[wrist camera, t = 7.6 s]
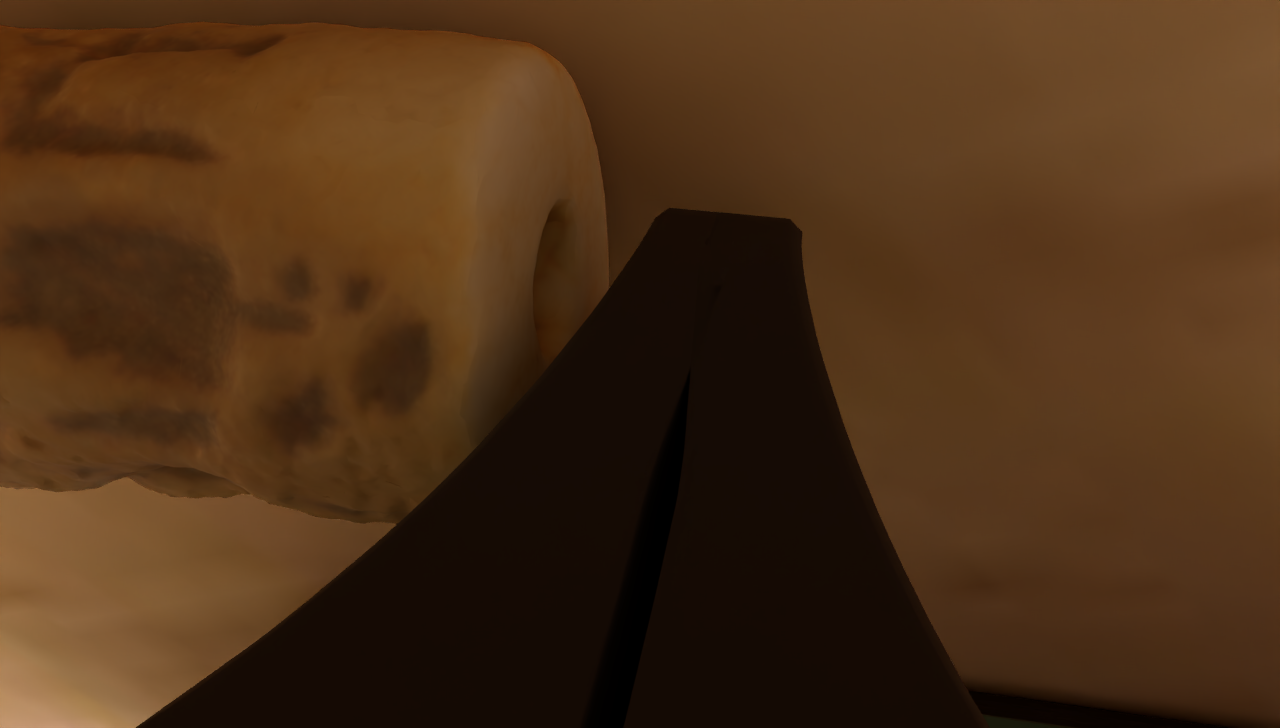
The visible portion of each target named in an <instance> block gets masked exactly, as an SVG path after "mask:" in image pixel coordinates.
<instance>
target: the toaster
mask: <svg viewBox="0 0 1280 728" xmlns="http://www.w3.org/2000/svg"><path fill="white" fill-rule="evenodd" d="M968 692H969V694H970V696H971V697H972V699H973V701H974V702H975V704H976V705H977V707H978V709H979V710H980V712H981V714H982V715H983V717H984V719H985V720H986V722H987V723H988V725H989V727H990V728H1227V727H1219V726H1212V725H1205V724H1198V723H1191V722H1184V721H1177V720H1170V719H1163V718H1156V717H1149V716H1142V715H1135V714H1128V713H1121V712H1114V711H1107V710H1099V709H1092V708H1085V707H1078V706H1071V705H1064V704H1057V703H1050V702H1043V701H1036V700H1029V699H1022V698H1015V697H1008V696H1001V695H994V694H987V693H979V692H972V691H968Z"/></svg>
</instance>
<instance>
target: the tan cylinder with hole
mask: <svg viewBox="0 0 1280 728" xmlns="http://www.w3.org/2000/svg"><path fill="white" fill-rule="evenodd" d="M608 290H609V253H608V234H607V221H606V205H605V194H604V188H603V180H602V174H601V167H600V162H599V157H598V150H597V146H596V143H595V140H594V136H593V133H592V128H591V124H590V120H589V117H588V115H587V112H586V109H585V106H584V103H583V100H582V98H581V96H580V94H579V91H578V88H577V86H576V84H575V82H574V80H573V79H572V77H571V76H570V74H569V73H568V71H567V70H566V69H565V67H564V66H563V65H562V64H561V63H560V62H559V61H558V60H557V59H555V58H554V57H553V56H552V55H550V54H549V53H547V52H545V51H544V50H542V49H540V48H538V47H536V46H534V45H532V44H530V43H528V42H525V41H521V42H519V41H512V40H501V39H497V38H490V37H483V36H476V35H472V34H468V33H457V32H450V31H437V30H428V31H420V30H397V29H391V28H360V27H353V26H348V25H342V24H327V23H301V24H268V25H261V26H252V25H238V24H229V23H212V22H196V23H176V24H170V25H165V26H159V27H154V28H128V29H115V28H103V29H88V30H59V29H51V28H30V29H25V28H17V27H9V26H4V25H0V487H6V488H15V489H35V488H38V489H42V490H47V491H53V492H64V491H79V490H85V489H95V488H99V487H102V486H104V485H106V484H108V483H110V482H112V481H115V480H118V479H120V478H123V477H129V478H131V479H132V480H134V481H135V482H137V483H138V484H140V485H142V486H143V487H145V488H147V489H149V490H152V491H155V492H157V493H160V494H166V495H168V496H171V497H187V498H202V497H222V498H228V497H231V496H235V495H239V494H245V495H253V496H254V497H256V498H258V499H261V500H264V501H266V502H267V503H269V504H273V505H277V506H281V507H285V508H289V509H294V510H299V511H302V512H305V513H307V514H309V515H312V516H315V517H321V518H327V519H340V520H346V521H351V522H354V523H370V522H386V523H397V524H398V523H399V522H400V521H401V520H402V519H403V518H404V517H406V516H407V515H408V514H409V513H410V512H411V511H412V510H413V509H414V508H415V507H416V506H417V505H419V504H420V503H421V502H422V501H423V500H424V499H425V498H426V497H427V496H428V495H429V494H430V493H431V492H432V491H433V490H434V489H435V488H436V487H437V486H438V485H439V484H441V483H442V482H443V481H444V480H445V479H446V478H447V477H448V476H449V475H450V474H451V473H452V472H453V471H454V470H455V469H456V468H457V467H458V466H459V465H460V464H461V463H462V462H463V461H464V460H465V459H466V458H467V456H468V455H469V454H470V453H471V452H472V451H473V450H474V449H475V448H476V447H477V446H478V445H479V444H480V443H481V442H482V441H483V440H484V438H485V437H486V436H487V435H488V434H489V433H490V432H491V431H492V430H493V429H494V427H495V426H496V425H497V424H498V423H499V422H500V421H501V420H502V419H503V418H504V416H505V415H506V414H507V413H508V412H509V411H510V410H511V409H512V408H513V407H514V405H515V404H516V403H517V402H518V401H519V400H520V399H521V398H522V397H523V396H524V394H525V393H526V392H527V391H528V390H529V389H530V388H531V387H532V386H533V384H534V383H535V382H536V381H537V380H538V379H539V377H540V376H541V375H542V374H543V373H544V372H545V370H546V369H547V368H548V367H549V365H550V364H551V363H552V362H553V360H554V359H555V358H556V357H557V355H558V354H559V353H560V352H561V350H562V349H563V348H564V347H565V345H566V344H567V343H568V342H569V340H570V339H571V338H572V337H573V335H574V334H575V333H576V332H577V330H578V329H579V328H580V327H581V325H582V324H583V323H584V322H585V320H586V319H587V318H588V317H589V315H590V314H591V313H592V312H593V310H594V309H595V307H596V306H597V305H598V303H599V302H600V301H601V299H602V298H603V297H604V295H605V294H606V292H607V291H608Z"/></svg>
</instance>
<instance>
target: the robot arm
mask: <svg viewBox="0 0 1280 728" xmlns="http://www.w3.org/2000/svg"><path fill="white" fill-rule="evenodd" d="M136 728H990V727H989V725H988V723H987V722H986V720H985V719H984V717H983V715H982V714H981V712H980V710H979V709H978V707H977V705H976V704H975V702H974V701H973V699H972V697H971V696H970V694H969V692H968V690H967V689H966V687H965V685H964V683H963V681H962V680H961V678H960V676H959V674H958V672H957V670H956V668H955V667H954V665H953V663H952V661H951V659H950V657H949V655H948V654H947V652H946V650H945V648H944V646H943V644H942V643H941V641H940V639H939V637H938V635H937V633H936V631H935V630H934V628H933V626H932V624H931V622H930V620H929V618H928V616H927V614H926V612H925V610H924V608H923V606H922V604H921V602H920V600H919V598H918V596H917V594H916V592H915V590H914V588H913V586H912V584H911V582H910V580H909V578H908V576H907V574H906V572H905V570H904V568H903V566H902V564H901V562H900V560H899V557H898V555H897V553H896V551H895V549H894V547H893V544H892V542H891V540H890V538H889V536H888V533H887V531H886V529H885V526H884V524H883V522H882V520H881V517H880V515H879V513H878V510H877V508H876V506H875V503H874V501H873V498H872V496H871V493H870V491H869V489H868V486H867V484H866V481H865V479H864V476H863V474H862V471H861V469H860V466H859V464H858V461H857V459H856V456H855V454H854V451H853V448H852V445H851V443H850V440H849V437H848V434H847V432H846V429H845V426H844V423H843V421H842V418H841V414H840V411H839V408H838V405H837V402H836V399H835V396H834V393H833V389H832V386H831V383H830V380H829V377H828V374H827V371H826V368H825V364H824V361H823V358H822V354H821V350H820V347H819V343H818V339H817V336H816V331H815V327H814V323H813V318H812V314H811V309H810V305H809V301H808V295H807V289H806V284H805V277H804V270H803V260H802V231H801V230H800V229H799V228H798V227H797V226H796V225H795V224H794V223H793V222H792V220H791V219H786V218H775V217H764V216H753V215H742V214H731V213H720V212H710V211H699V210H688V209H677V208H668V209H667V210H666V211H664V212H663V213H661V214H660V215H659V216H657V217H656V218H655V220H654V221H653V223H652V225H651V226H650V228H649V230H648V232H647V233H646V235H645V237H644V238H643V240H642V241H641V243H640V244H639V246H638V248H637V249H636V251H635V252H634V254H633V255H632V257H631V258H630V260H629V261H628V263H627V264H626V266H625V267H624V269H623V270H622V272H621V273H620V274H619V276H618V277H617V279H616V280H615V281H614V283H613V284H612V286H611V287H610V288H609V290H608V291H607V292H606V294H605V295H604V297H603V298H602V299H601V301H600V302H599V303H598V305H597V306H596V307H595V309H594V310H593V312H592V313H591V314H590V315H589V317H588V318H587V319H586V320H585V322H584V323H583V324H582V325H581V327H580V328H579V329H578V330H577V332H576V333H575V334H574V335H573V337H572V338H571V339H570V340H569V342H568V343H567V344H566V345H565V347H564V348H563V349H562V350H561V352H560V353H559V354H558V355H557V357H556V358H555V359H554V360H553V362H552V363H551V364H550V365H549V367H548V368H547V369H546V370H545V372H544V373H543V374H542V375H541V376H540V377H539V379H538V380H537V381H536V382H535V383H534V384H533V386H532V387H531V388H530V389H529V390H528V391H527V392H526V393H525V394H524V396H523V397H522V398H521V399H520V400H519V401H518V402H517V403H516V404H515V405H514V407H513V408H512V409H511V410H510V411H509V412H508V413H507V414H506V415H505V416H504V418H503V419H502V420H501V421H500V422H499V423H498V424H497V425H496V426H495V427H494V429H493V430H492V431H491V432H490V433H489V434H488V435H487V436H486V437H485V438H484V440H483V441H482V442H481V443H480V444H479V445H478V446H477V447H476V448H475V449H474V450H473V451H472V452H471V453H470V454H469V455H468V456H467V458H466V459H465V460H464V461H463V462H462V463H461V464H460V465H459V466H458V467H457V468H456V469H455V470H454V471H453V472H452V473H451V474H450V475H449V476H448V477H447V478H446V479H445V480H444V481H443V482H442V483H441V484H439V485H438V486H437V487H436V488H435V489H434V490H433V491H432V492H431V493H430V494H429V495H428V496H427V497H426V498H425V499H424V500H423V501H422V502H421V503H420V504H419V505H417V506H416V507H415V508H414V509H413V510H412V511H411V512H410V513H409V514H408V515H407V516H406V517H404V518H403V519H402V520H401V521H400V522H399V523H398V524H397V525H396V526H395V527H394V528H393V529H391V530H390V531H389V532H388V533H387V534H386V535H385V536H384V537H383V538H382V539H380V540H379V541H378V542H377V543H376V544H375V545H374V546H372V547H371V548H370V549H369V550H368V551H366V552H365V553H364V554H363V555H362V556H361V557H359V558H358V559H357V560H356V561H355V562H353V563H352V564H351V565H350V566H349V567H347V568H346V569H345V570H344V571H343V572H341V573H340V574H339V575H338V576H337V577H336V578H334V579H333V580H332V581H331V582H330V583H328V584H327V585H326V586H325V587H324V588H322V589H321V590H320V591H319V592H318V593H317V594H315V595H314V596H313V597H312V598H311V599H309V600H308V601H307V602H306V603H304V604H303V605H302V606H301V607H299V608H298V609H297V610H296V611H294V612H293V613H292V614H291V615H289V616H288V617H287V618H286V619H284V620H283V621H282V622H280V623H279V624H278V625H277V626H275V627H274V628H273V629H271V630H270V631H269V632H268V633H266V634H265V635H264V636H262V637H261V638H260V639H258V640H257V641H256V642H255V643H253V644H252V645H250V646H249V647H248V648H246V649H245V650H243V651H242V652H241V653H239V654H238V655H236V656H235V657H234V658H232V659H231V660H229V661H228V662H227V663H225V664H224V665H222V666H221V667H220V668H218V669H217V670H215V671H214V672H213V673H211V674H210V675H208V676H207V677H206V678H204V679H203V680H201V681H200V682H199V683H197V684H196V685H194V686H193V687H192V688H190V689H189V690H187V691H186V692H185V693H183V694H182V695H180V696H179V697H178V698H176V699H175V700H173V701H172V702H171V703H169V704H168V705H166V706H165V707H164V708H162V709H161V710H160V711H158V712H157V713H155V714H154V715H153V716H151V717H150V718H148V719H147V720H146V721H144V722H143V723H141V724H140V725H139V726H137V727H136Z"/></svg>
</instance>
